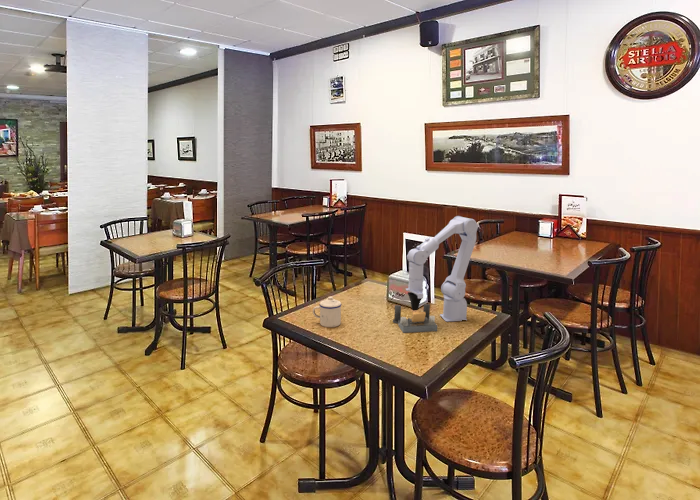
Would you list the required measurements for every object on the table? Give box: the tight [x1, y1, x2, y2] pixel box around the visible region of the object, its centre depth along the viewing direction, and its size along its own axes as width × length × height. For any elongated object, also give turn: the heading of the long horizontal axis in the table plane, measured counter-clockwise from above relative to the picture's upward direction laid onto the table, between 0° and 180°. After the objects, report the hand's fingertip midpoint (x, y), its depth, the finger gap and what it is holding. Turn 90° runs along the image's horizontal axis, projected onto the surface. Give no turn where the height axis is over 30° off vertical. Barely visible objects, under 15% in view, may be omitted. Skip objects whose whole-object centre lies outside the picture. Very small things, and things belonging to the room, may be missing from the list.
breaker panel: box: [397, 315, 438, 334], centre depth 181 cm, size 14×8×5 cm, turn 98°
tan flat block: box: [410, 311, 426, 322], centre depth 180 cm, size 6×1×5 cm
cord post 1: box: [392, 304, 402, 325], centre depth 188 cm, size 4×4×7 cm
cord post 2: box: [422, 303, 431, 318], centre depth 190 cm, size 4×4×7 cm
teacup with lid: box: [312, 296, 342, 328], centre depth 185 cm, size 12×9×12 cm
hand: (414, 309), depth 185 cm, fingers closed
